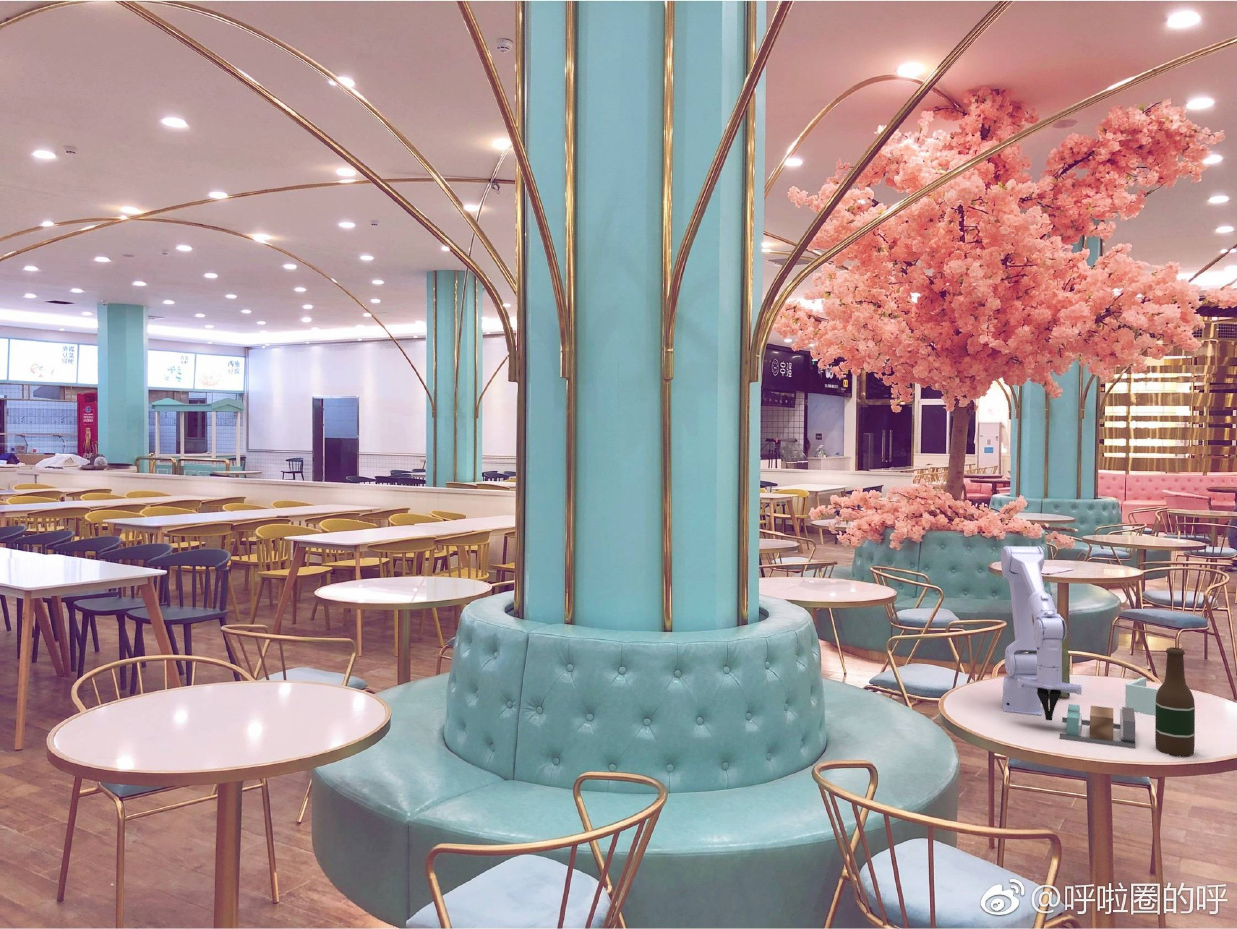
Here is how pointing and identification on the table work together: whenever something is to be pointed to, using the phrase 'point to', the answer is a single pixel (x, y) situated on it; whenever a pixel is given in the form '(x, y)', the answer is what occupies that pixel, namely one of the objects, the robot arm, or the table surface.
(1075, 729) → the block
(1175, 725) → the beer bottle
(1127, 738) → the vise
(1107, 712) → the walnut block
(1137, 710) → the l-shaped corner panel
